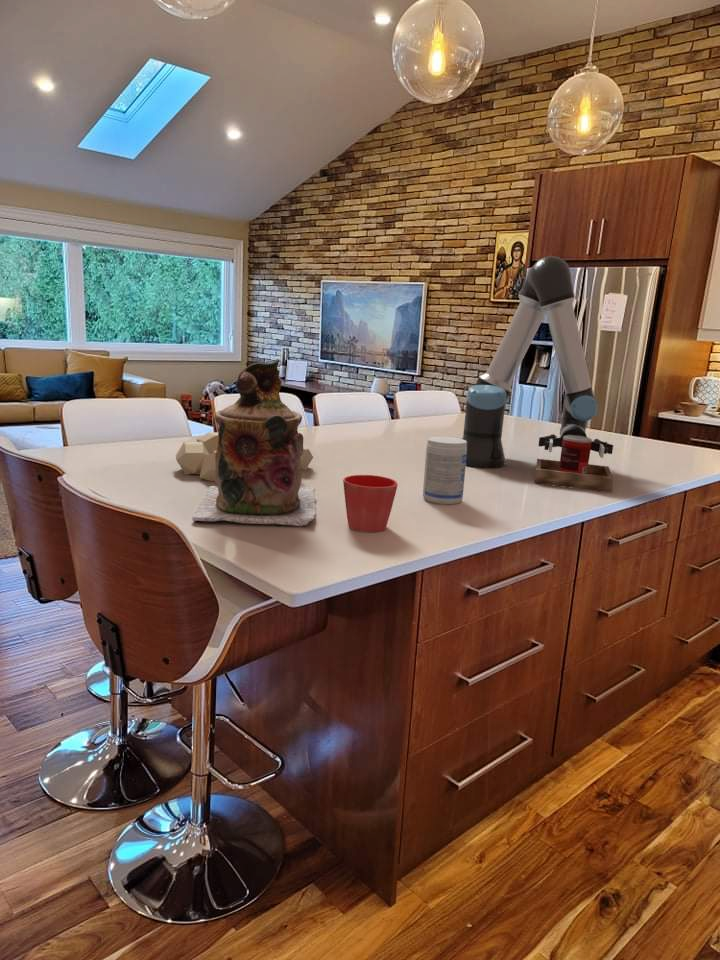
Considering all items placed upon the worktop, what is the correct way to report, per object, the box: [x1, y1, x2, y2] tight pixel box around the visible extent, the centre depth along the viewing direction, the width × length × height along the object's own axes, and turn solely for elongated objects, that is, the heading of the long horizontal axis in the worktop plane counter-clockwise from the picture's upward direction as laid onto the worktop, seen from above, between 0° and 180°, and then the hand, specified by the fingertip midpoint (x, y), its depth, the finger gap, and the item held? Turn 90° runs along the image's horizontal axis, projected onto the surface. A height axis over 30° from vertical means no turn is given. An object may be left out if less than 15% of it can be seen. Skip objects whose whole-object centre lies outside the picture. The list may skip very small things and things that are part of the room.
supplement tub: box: [422, 436, 467, 505], centre depth 153 cm, size 10×10×15 cm
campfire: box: [175, 431, 314, 482], centre depth 171 cm, size 35×34×17 cm
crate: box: [534, 458, 614, 494], centre depth 182 cm, size 20×16×4 cm
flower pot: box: [342, 474, 399, 533], centre depth 130 cm, size 11×11×10 cm
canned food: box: [559, 435, 593, 474], centre depth 180 cm, size 8×8×11 cm
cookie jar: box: [191, 358, 317, 527], centre depth 134 cm, size 25×25×32 cm
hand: (576, 450), depth 177 cm, fingers open, 13 cm apart
